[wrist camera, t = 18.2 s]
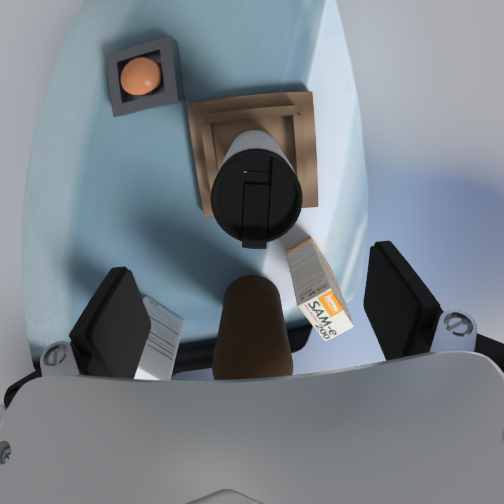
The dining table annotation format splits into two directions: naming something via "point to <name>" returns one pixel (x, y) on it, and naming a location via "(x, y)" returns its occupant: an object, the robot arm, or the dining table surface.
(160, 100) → the button housing
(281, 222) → the travel mug
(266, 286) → the olive oil
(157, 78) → the button
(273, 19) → the dining table surface
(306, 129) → the tan flat square tray
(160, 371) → the supplement box
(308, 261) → the supplement box
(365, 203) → the dining table surface
